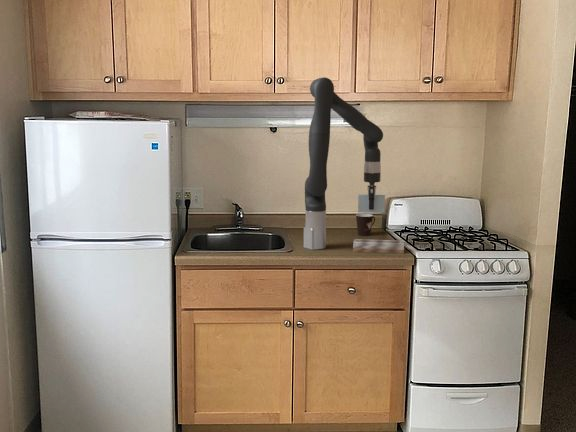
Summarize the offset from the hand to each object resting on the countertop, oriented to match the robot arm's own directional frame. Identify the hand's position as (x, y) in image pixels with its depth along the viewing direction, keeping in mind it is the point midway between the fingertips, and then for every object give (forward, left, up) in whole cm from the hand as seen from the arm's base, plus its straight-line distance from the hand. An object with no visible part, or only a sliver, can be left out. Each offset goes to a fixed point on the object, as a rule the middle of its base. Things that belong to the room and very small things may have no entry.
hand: (371, 208), depth 264 cm
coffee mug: (+16, +19, -17) cm, 30 cm away
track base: (-5, -10, -17) cm, 20 cm away
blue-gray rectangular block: (0, 0, -2) cm, 2 cm away
